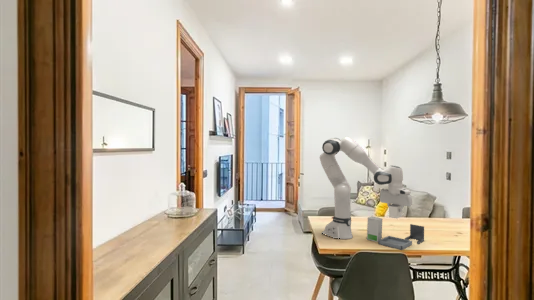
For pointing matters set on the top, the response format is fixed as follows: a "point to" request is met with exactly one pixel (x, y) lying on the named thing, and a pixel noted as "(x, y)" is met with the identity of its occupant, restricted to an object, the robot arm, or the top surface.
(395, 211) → the caddy
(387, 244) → the tray
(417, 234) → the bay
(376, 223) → the skincare box
